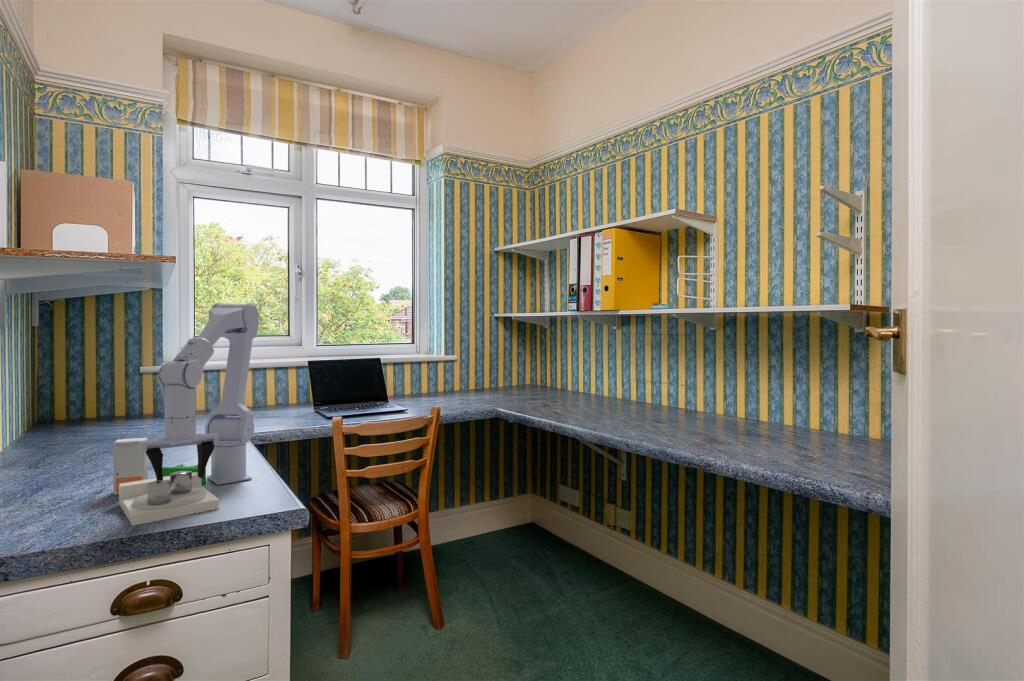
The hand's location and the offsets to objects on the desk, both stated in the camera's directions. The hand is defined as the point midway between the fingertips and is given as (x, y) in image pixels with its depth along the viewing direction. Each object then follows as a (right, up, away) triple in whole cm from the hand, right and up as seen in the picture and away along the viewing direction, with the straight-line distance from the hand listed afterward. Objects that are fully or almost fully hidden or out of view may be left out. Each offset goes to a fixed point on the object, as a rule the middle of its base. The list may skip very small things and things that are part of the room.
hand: (180, 480), depth 119 cm
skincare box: (-17, -5, +9) cm, 19 cm away
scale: (-1, -5, -3) cm, 6 cm away
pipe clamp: (-8, -5, +15) cm, 17 cm away
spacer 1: (0, -3, -8) cm, 8 cm away
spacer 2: (0, -2, 0) cm, 2 cm away
